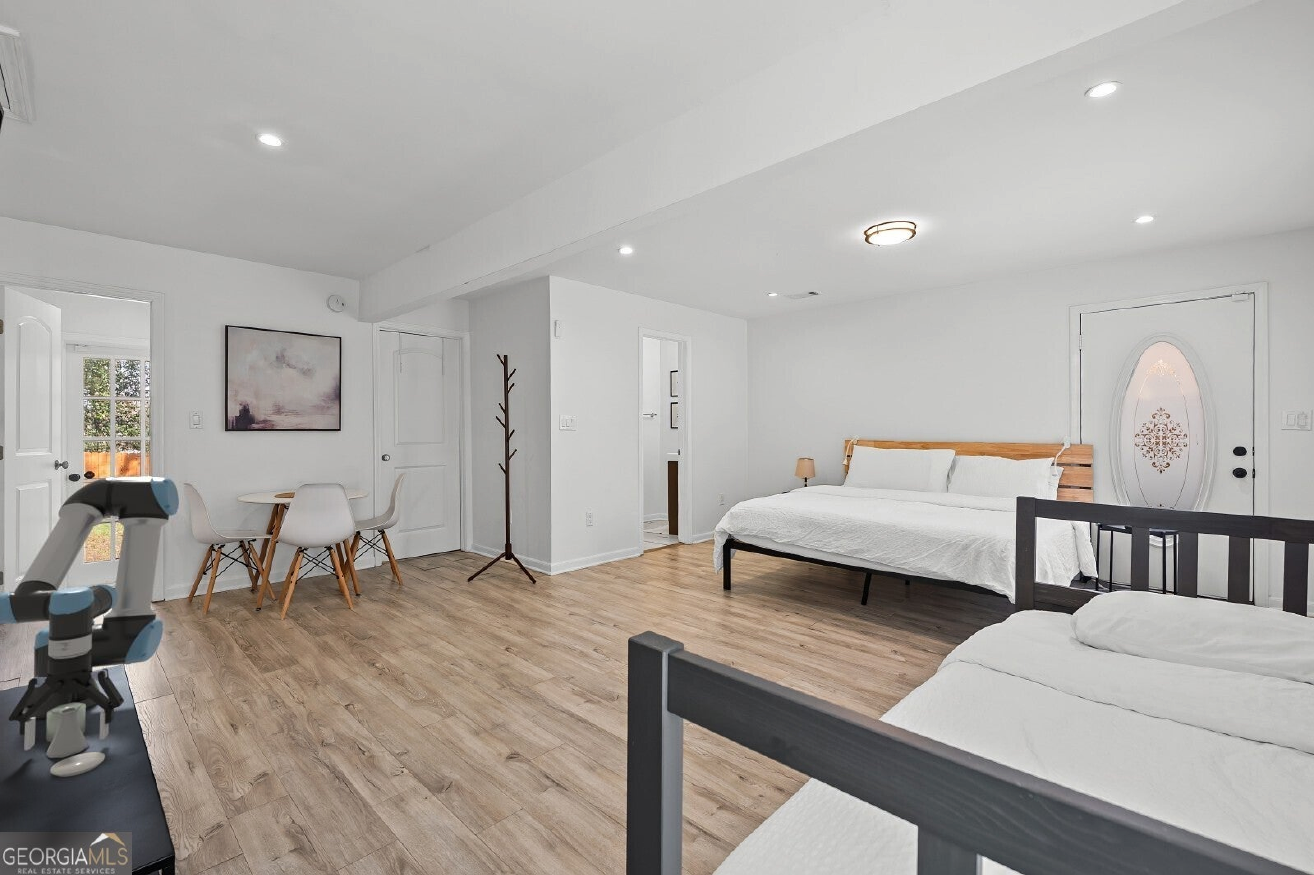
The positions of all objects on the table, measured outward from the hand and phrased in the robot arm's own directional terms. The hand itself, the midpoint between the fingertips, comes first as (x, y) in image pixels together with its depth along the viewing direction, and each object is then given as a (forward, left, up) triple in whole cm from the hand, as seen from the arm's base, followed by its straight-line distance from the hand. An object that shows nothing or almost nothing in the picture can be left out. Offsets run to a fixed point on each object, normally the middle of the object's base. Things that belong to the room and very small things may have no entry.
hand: (67, 742), depth 144 cm
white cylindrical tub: (-10, -4, -2) cm, 11 cm away
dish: (+10, +6, -2) cm, 11 cm away
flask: (0, 0, -3) cm, 3 cm away
